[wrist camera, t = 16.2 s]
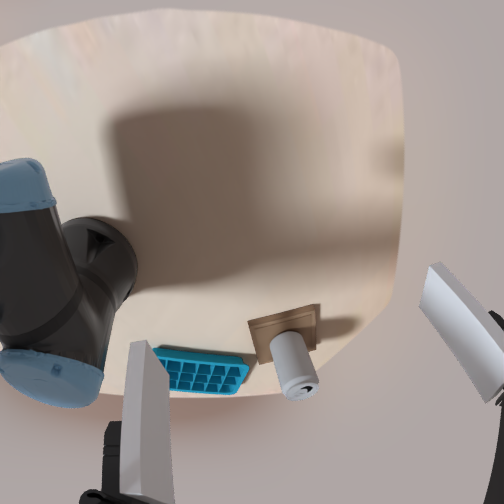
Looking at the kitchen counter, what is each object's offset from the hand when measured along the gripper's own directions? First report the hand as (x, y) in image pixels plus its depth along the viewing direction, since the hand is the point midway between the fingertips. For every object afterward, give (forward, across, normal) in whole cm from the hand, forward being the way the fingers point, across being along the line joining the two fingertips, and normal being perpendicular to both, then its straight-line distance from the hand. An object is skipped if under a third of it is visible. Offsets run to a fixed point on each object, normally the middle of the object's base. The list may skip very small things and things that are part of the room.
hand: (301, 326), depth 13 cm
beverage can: (+27, +3, -35) cm, 44 cm away
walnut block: (+29, +3, -35) cm, 45 cm away
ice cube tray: (+29, -16, -39) cm, 52 cm away
